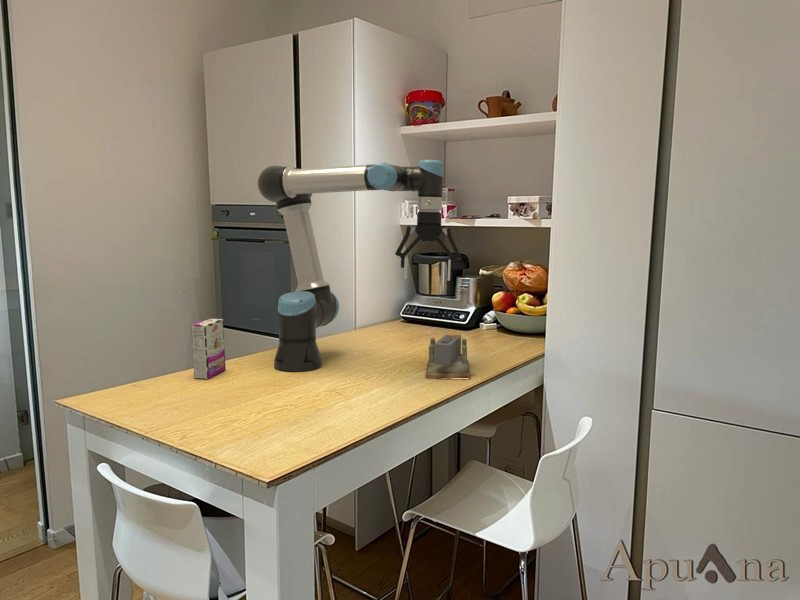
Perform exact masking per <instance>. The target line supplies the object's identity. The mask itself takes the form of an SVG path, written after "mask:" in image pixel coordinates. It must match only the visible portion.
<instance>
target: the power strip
mask: <svg viewBox="0 0 800 600" xmlns="http://www.w3.org/2000/svg"><path fill="white" fill-rule="evenodd" d="M460 354H462V335H461V334H457V333H448V334H447V333H446V334H445V335H443V336H442V337H441V338H440V339H438V340H437V341H435V344H434V364H444V365H450V364H451V363H452V362H453V361H454V360H455V359H456V358H457V357H458V356H459V355H460Z"/></svg>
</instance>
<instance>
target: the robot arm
mask: <svg viewBox="0 0 800 600" xmlns="http://www.w3.org/2000/svg"><path fill="white" fill-rule="evenodd" d="M444 177H445V176H444V163H443V162H442V161H441V160H439V159H421V160H420V161H418V166H400V165H396V164H391V163H387V162H377V163H373V164H358V165H345V166H344V165H343V166H341V165H340V166H329V167H314V168H313V167H311V168H298V167H293V166H281V165H270V166H267V167H265V168H264V169H263V170H262V171H261V172H260V174H259V176H258V179H257V188H258V190H259V192H260V194H261V196H262V197H263V198H265V200H266V201H269V202H272V203H275V205H276V211H277V213H279V214H280V215H282V216H283V220H284V225H285V228H286V229H285V230H286V234H287V239H288V244H289V248H290V251H291V253H290V254H291V258H292V261H293V267H294V270H295V276H296V280H297V287H296V288H295V291H293V292H287V293H284V294H282V295H280V297H279V298H278V300H277V301H278V304H277V314H278V315H277V316H278V317H277V319H278V320H277V321H278V345H277V350H276V352H275V357H274V360H273V366H274V369H275V370H278V371H282V372H308V371H309V372H310V371H313V370H317V369H319V368H321V367H322V366H323V365H322V364H323V363H322V361H323V359H322V355H321V352H320V349H319V347H318V344H317V328H320V327H324V326H327V325H328V324H330V323H331V322H333V321H334V320H335V319H336V317H337V316H338V314H339V310H340V304H339V299H338V298H337V296H336V294H334V293H333V292H332V291H331V286H330V283H328V282H327V281H325V279H324V275H323V271H322V266H321V262H320V258H319V257H320V256H319V251H318V249H317V243H316V239H315V233H314V229H313V225H312V221H311V216H310V211H309V210H310V208H311V207H312V205H313V204H312V199H311V198H312V195H313V194H325V193H326V194H327V193H329V194H330V193H344V192H345V193H346V192H347V193H348V192H362V191H363V192H364V191H365V192H366V191H388V192H417V210H419V211H418V212H417V213H416V214H417V216H416V227H414V226H411V225H408V226H406V231H405V234H404V237H403V238H402V240H401V241H400V244H399V245H398V247H397V249H396V251H395V253H394V254H395V256H397V257H400V268H401V269H404V270H403V279H404V280H407V279H408V265H409V263H408V261H409V259H408V258H409V257H406V256H407V255H408V254H409V253H410V252H411V251H412V249H413V248H414V247H415V246H416V245H417V244H418V243H419V242H420V241H422V242H431V243H432V242H437V243H438V244H439V245H440V247H441V248H442V249H443V251H444V252H445V253H446V254H447V256H448V257H449V259H448V262H447V282H448V281H449V282H450V281H451V271H454V270H455V260H456V259H460V258H461V252H460V251H459V249H458V246H457V244H456V242H455V240H454V237H453V235H452V229H451V227H445V228H443V227H442V214H443V213H442V212H441V211H442V209H443V187H444V186H443V185H444ZM414 232H415V234H417V236H416V238H415V239H414V240H413V241H412V242H411V243H410V244H409V246H408V247H407V248H406V249H405V250H404V251H403V249H404V247H405V245H406V243H407V242H408V240H409V238H410V236H411V234H413V233H414ZM442 233H444V235H446V236H447V238H448V241H449V242H450V245H451V247H452V249H453V252H454V254H453V253H452V251H451V250H450V249H449V248H448V246H447V245H446V243H445V242H444V241H443V239H442V238H441V237H440V236H441V235H442ZM402 251H403V252H402Z"/></svg>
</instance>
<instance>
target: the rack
mask: <svg viewBox="0 0 800 600" xmlns="http://www.w3.org/2000/svg"><path fill="white" fill-rule="evenodd" d="M467 340H468V339H467V338H461V354H460V355H459V356H458V357H457V358H456V359H455V360H454V361H453V362H452V363H451V364H450V365H444V364H434V344H435V343H436V337H430V341H429V342H430V343H429V345H428V360H427V365H426V370H425V376H424V379H425V378H469V379H470V365H469V359H468V345H467V343H468V341H467Z"/></svg>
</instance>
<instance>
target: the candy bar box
mask: <svg viewBox="0 0 800 600" xmlns="http://www.w3.org/2000/svg"><path fill="white" fill-rule="evenodd" d="M190 327H191V328H190V329H191V343H192V345H191V346H192V347H191V348H192V360H193V378H194V379H195V378H198V379H197V380H210V379H212V378H214V377H216V376H218V375H220V374H221V373H223V372H225V371H226V370H227V369H226V354H225V353H226V351H225V335H224V334H225V333H224V319H223V318H221V319H220V318H209V319H205V320H203V321H200V322H197V323H194V324H191V325H190ZM217 374H218V375H217ZM215 375H216V376H215ZM213 376H214V377H213ZM199 378H200V379H199Z"/></svg>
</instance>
